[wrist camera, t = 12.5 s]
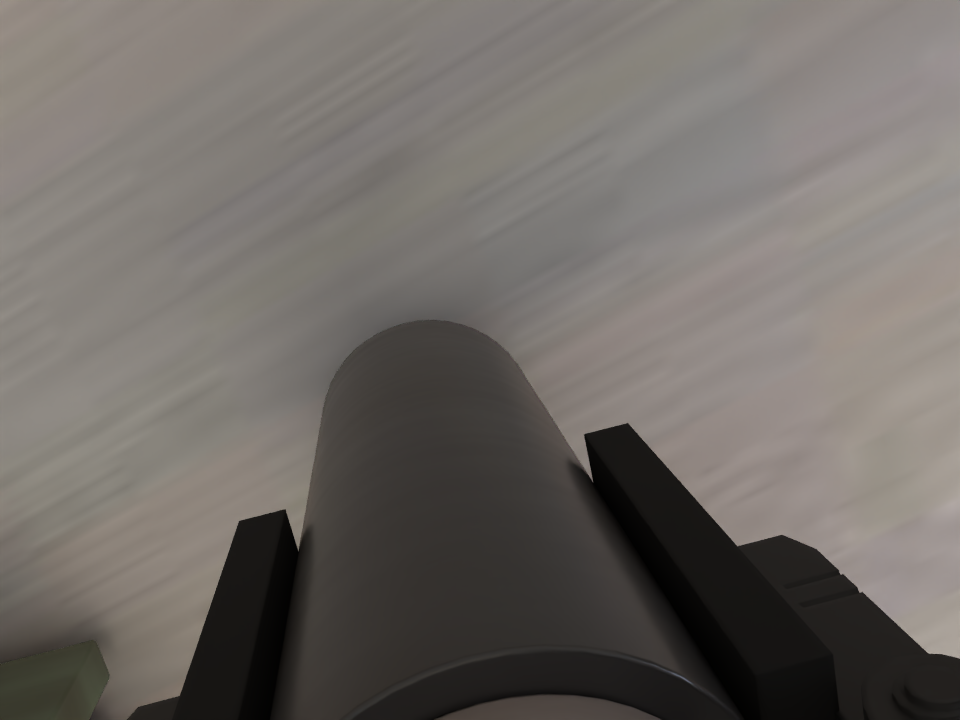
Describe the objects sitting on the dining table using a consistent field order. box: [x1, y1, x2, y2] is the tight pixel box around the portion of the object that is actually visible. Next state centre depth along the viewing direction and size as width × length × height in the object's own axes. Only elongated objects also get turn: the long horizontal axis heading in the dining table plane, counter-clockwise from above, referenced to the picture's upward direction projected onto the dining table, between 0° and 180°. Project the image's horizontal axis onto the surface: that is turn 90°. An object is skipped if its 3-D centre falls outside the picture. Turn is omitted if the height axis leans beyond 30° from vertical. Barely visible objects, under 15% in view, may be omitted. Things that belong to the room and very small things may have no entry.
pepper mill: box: [270, 320, 745, 720], centre depth 12 cm, size 5×5×16 cm
